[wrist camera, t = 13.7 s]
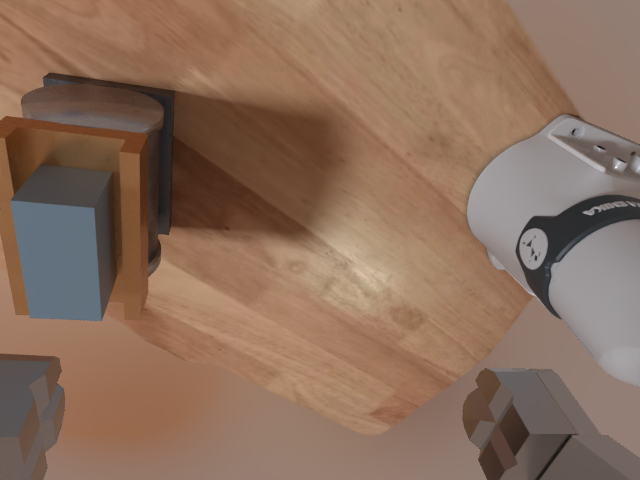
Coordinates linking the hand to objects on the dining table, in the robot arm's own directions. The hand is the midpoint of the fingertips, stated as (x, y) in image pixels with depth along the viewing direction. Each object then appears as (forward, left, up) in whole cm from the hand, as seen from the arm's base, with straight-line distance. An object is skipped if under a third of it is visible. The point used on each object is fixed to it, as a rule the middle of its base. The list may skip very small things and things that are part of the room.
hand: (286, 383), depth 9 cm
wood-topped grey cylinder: (+11, +13, -37) cm, 41 cm away
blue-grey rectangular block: (+11, +13, -25) cm, 30 cm away
